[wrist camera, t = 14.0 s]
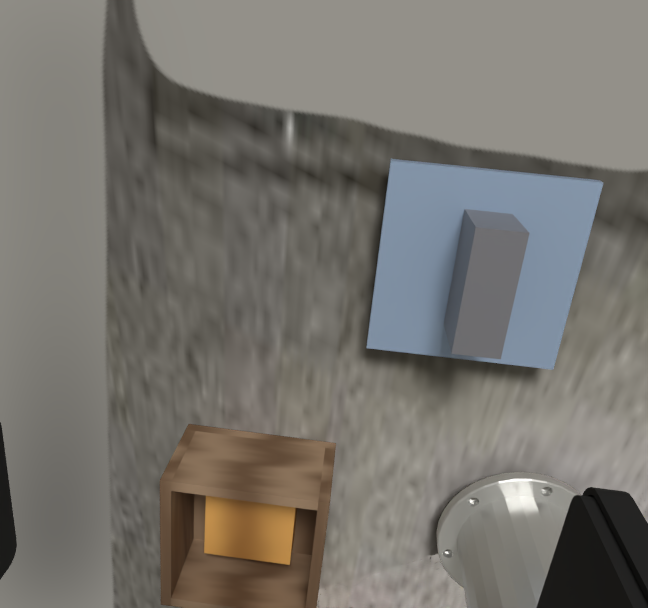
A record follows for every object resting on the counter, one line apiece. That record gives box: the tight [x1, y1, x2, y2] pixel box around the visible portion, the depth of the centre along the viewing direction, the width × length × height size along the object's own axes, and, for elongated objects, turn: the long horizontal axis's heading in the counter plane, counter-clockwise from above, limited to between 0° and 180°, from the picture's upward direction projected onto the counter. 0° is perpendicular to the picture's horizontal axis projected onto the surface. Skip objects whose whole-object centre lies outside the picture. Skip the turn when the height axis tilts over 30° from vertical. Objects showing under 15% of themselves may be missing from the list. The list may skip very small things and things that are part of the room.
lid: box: [367, 159, 603, 370], centre depth 38 cm, size 13×13×7 cm
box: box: [160, 424, 336, 608], centre depth 47 cm, size 12×12×7 cm
